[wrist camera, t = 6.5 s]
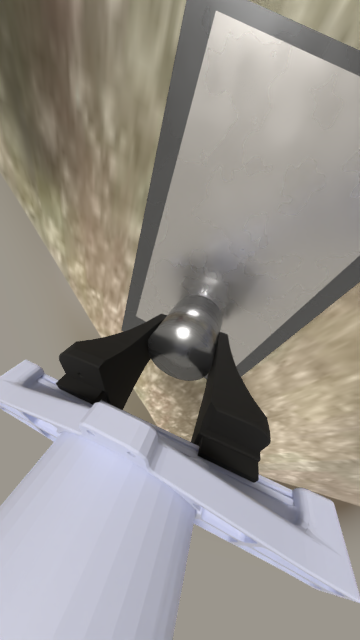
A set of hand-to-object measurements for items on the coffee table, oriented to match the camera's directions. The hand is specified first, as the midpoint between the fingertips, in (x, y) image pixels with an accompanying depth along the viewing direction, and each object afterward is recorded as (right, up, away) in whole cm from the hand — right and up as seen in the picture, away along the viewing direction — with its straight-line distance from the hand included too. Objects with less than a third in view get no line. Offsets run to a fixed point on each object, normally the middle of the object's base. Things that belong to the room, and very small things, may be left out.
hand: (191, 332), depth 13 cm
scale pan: (+3, +5, -1) cm, 6 cm away
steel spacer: (+1, +1, +1) cm, 2 cm away
